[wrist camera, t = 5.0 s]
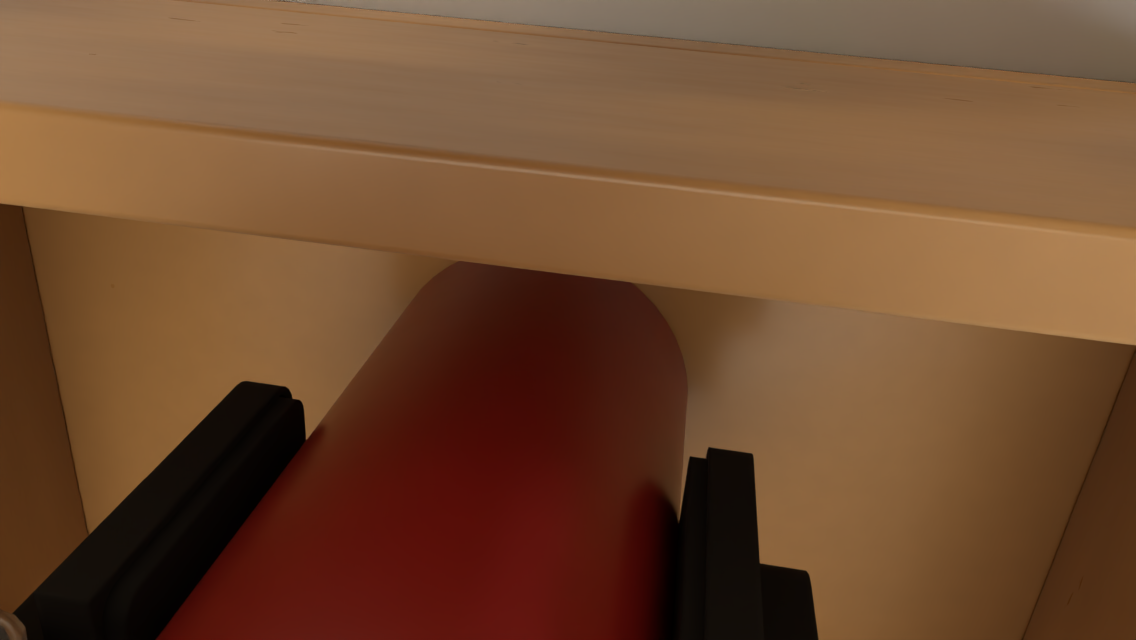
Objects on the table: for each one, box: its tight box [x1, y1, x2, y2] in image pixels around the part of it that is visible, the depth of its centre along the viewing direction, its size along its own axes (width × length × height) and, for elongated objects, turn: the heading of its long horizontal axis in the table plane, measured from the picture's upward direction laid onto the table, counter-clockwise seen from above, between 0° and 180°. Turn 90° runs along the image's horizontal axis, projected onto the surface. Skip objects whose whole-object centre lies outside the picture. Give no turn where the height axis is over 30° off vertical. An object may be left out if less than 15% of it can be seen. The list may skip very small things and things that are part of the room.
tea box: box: [0, 0, 1136, 640], centre depth 13 cm, size 19×16×7 cm
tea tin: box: [156, 261, 688, 640], centre depth 10 cm, size 5×5×11 cm
